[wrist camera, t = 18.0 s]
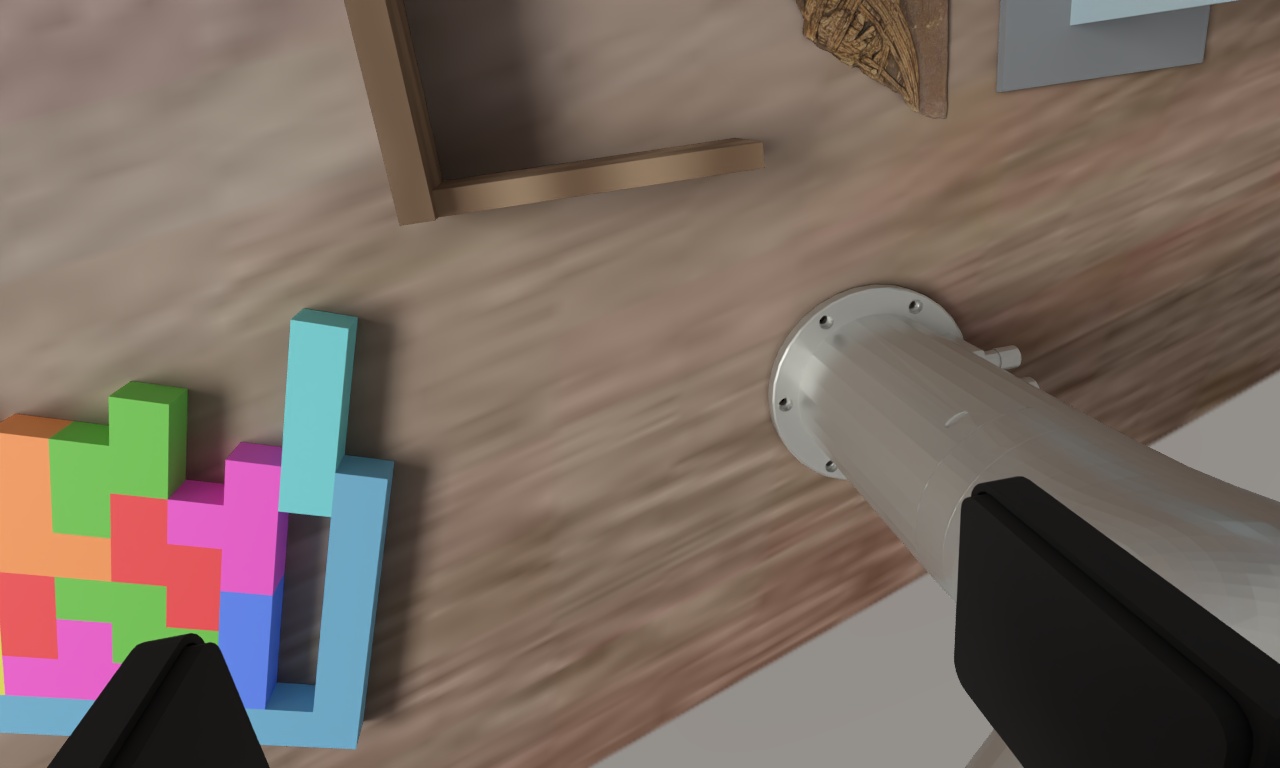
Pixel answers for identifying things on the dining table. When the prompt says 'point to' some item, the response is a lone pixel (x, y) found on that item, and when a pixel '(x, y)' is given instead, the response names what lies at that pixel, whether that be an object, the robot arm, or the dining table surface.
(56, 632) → the tetris game
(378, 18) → the open wooden box
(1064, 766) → the robot arm
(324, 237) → the dining table surface
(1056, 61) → the mat
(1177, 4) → the pale blue rectangular block
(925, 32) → the fossil stone slab
